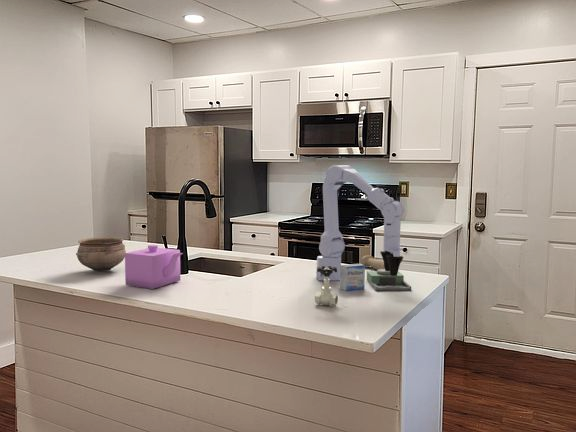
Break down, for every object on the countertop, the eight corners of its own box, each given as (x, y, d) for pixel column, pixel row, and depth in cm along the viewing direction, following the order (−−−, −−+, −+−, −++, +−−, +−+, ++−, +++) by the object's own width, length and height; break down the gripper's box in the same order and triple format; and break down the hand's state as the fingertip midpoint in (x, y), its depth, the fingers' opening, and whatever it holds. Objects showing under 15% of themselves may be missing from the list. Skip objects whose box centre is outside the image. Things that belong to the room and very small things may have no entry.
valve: (320, 301, 165) (320, 265, 164) (339, 304, 163) (340, 266, 162) (312, 306, 159) (313, 269, 158) (332, 309, 157) (333, 270, 156)
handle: (395, 262, 210) (372, 254, 223) (382, 264, 207) (360, 256, 220) (394, 273, 211) (372, 265, 224) (382, 275, 208) (360, 267, 221)
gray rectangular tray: (375, 291, 179) (375, 286, 179) (370, 285, 188) (370, 281, 188) (411, 290, 180) (411, 286, 180) (404, 285, 188) (404, 281, 188)
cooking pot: (107, 262, 227) (107, 235, 226) (140, 266, 219) (140, 238, 218) (60, 273, 205) (59, 242, 204) (95, 278, 197) (94, 246, 195)
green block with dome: (371, 285, 188) (371, 273, 187) (366, 280, 196) (366, 268, 195) (403, 285, 189) (403, 273, 188) (397, 280, 197) (397, 268, 196)
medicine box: (345, 291, 179) (346, 266, 178) (339, 288, 183) (339, 264, 182) (364, 289, 182) (365, 265, 181) (358, 286, 186) (358, 262, 185)
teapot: (169, 291, 177) (168, 251, 176) (115, 283, 189) (114, 245, 187) (195, 282, 191) (195, 245, 189) (144, 275, 202) (143, 240, 201)
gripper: (408, 238, 175) (407, 277, 176) (397, 232, 189) (396, 268, 191) (388, 238, 175) (387, 277, 176) (378, 232, 189) (377, 268, 190)
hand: (390, 273), depth 183 cm, fingers open, 7 cm apart
